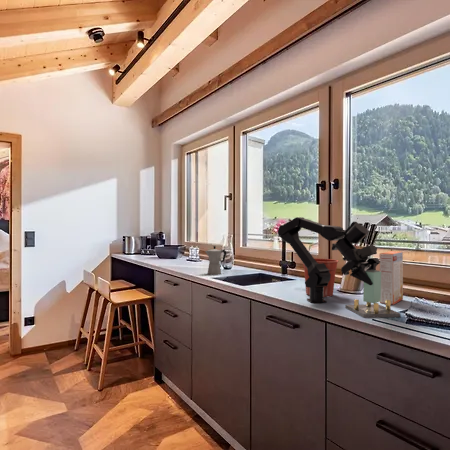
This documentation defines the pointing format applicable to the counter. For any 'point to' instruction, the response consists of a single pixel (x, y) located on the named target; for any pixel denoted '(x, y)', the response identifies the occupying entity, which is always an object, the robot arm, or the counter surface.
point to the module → (373, 287)
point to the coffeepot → (215, 260)
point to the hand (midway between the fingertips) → (375, 284)
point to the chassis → (372, 309)
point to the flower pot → (332, 267)
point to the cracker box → (391, 276)
